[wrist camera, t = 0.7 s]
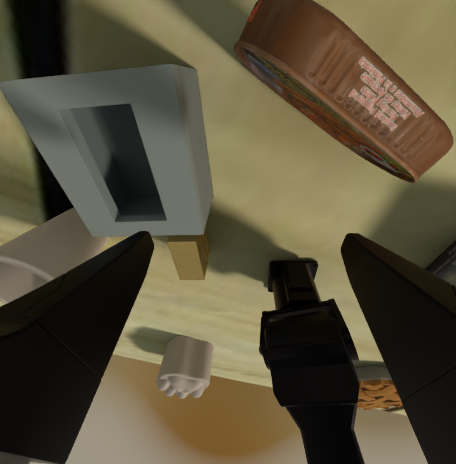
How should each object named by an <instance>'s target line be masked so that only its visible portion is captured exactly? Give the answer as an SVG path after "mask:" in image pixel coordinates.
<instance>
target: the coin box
mask: <svg viewBox="0 0 456 464" xmlns="http://www.w3.org/2000/svg"><path fill="white" fill-rule="evenodd" d="M0 89H1V91H2V92H3V94H4V96H5V97H6V99H7V100H8V102H9V104H10V105H11V107H12V108H13V110H14V112H15V113H16V115H17V116H18V118H19V120H20V121H21V123H22V124H23V126H24V128H25V129H26V131H27V132H28V134H29V136H30V137H31V139H32V140H33V142H34V144H35V145H36V147H37V148H38V150H39V152H40V153H41V155H42V156H43V158H44V160H45V161H46V163H47V164H48V166H49V168H50V169H51V171H52V172H53V174H54V176H55V177H56V179H57V180H58V182H59V184H60V185H61V187H62V188H63V190H64V192H65V193H66V195H67V196H68V198H69V200H70V201H71V203H72V205H73V206H74V208H75V209H76V211H77V213H78V214H79V216H80V217H81V219H82V221H83V222H84V224H85V225H86V227H87V229H88V230H89V232H90V233H91V235H92V237H113V236H132V235H133V234H135V233H137V232H139V231H149V232H150V234H151V236H160V235H204V231H205V227H206V223H207V219H208V215H209V211H210V207H211V203H212V199H213V189H212V182H211V174H210V167H209V159H208V151H207V144H206V136H205V128H204V121H203V113H202V105H201V98H200V90H199V83H198V75H197V70H196V69H192V68H187V67H183V66H179V65H174V64H164V65H155V66H145V67H136V68H126V69H116V70H107V71H97V72H87V73H78V74H68V75H59V76H49V77H39V78H30V79H20V80H11V81H1V82H0Z"/></svg>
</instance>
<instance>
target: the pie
mask: <svg viewBox="0 0 456 464" xmlns="http://www.w3.org/2000/svg"><path fill="white" fill-rule="evenodd" d="M354 369H355V372H356V374H357V377H358V380H359V383H360V390H359V396H358V403H357V408H363V409H364V410H371V409H373V408H385V409H388V408H389V407H391V406H395V407H400V406H403V405H402V401H401V399H400V397H399V395H398V393H397V390H396V388H395V386H394V383H393V381H392V379H391V376H390V374H389V372H388V369H387V367H383V366H364V367H356V368H354Z"/></svg>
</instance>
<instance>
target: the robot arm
mask: <svg viewBox="0 0 456 464" xmlns="http://www.w3.org/2000/svg"><path fill="white" fill-rule="evenodd" d="M153 250H154V243H153V240H152V237H151V234H150V232H149V231H139V232H137V233H135V234H133V235H132V236H130V237H128V238H126V239H125V240H123V241H121V242H119V243H117V244H116V245H114V246H112V247H110V248H109V249H107V250H105V251H103V252H101V253H100V254H98V255H96V256H94V257H92V258H91V259H89V260H87V261H85V262H84V263H82V264H80V265H78V266H76V267H75V268H73V269H71V270H69V271H68V272H66V273H64V274H62V275H60V276H59V277H57V278H55V279H53V280H51V281H50V282H48V283H46V284H44V285H42V286H40V287H38V288H37V289H35V290H33V291H31V292H29V293H27V294H25V295H23V296H21V297H19V298H17V299H15V300H13V301H11V302H9V303H7V304H5V305H3V306H1V307H0V464H29V463H30V462H38V463H47V464H65V462H66V460H67V459H68V456H69V454H70V452H71V450H72V447H73V445H74V443H75V440H76V438H77V436H78V433H79V431H80V429H81V426H82V424H83V422H84V419H85V417H86V414H87V412H88V410H89V408H90V405H91V403H92V401H93V398H94V396H95V394H96V391H97V389H98V387H99V384H100V382H101V378H102V377H103V375H104V372H105V370H106V367H107V365H108V363H109V360H110V358H111V356H112V354H113V351H114V349H115V347H116V344H117V342H118V340H119V337H120V335H121V333H122V330H123V328H124V326H125V323H126V321H127V319H128V316H129V314H130V312H131V309H132V307H133V305H134V302H135V300H136V298H137V295H138V293H139V291H140V288H141V286H142V284H143V281H144V279H145V276H146V274H147V270H148V267H149V264H150V260H151V257H152V254H153ZM341 255H342V258H343V261H344V265H345V268H346V272H347V275H348V278H349V281H350V284H351V286H352V289H353V291H354V293H355V296H356V298H357V300H358V303H359V305H360V307H361V309H362V312H363V314H364V316H365V319H366V321H367V323H368V326H369V328H370V330H371V333H372V335H373V337H374V339H375V342H376V344H377V346H378V349H379V351H380V353H381V356H382V358H383V360H384V363H385V365H386V367H387V369H388V372H389V374H390V376H391V379H392V381H393V383H394V386H395V388H396V390H397V393H398V395H399V397H400V399H401V401H402V405H403V407H404V409H405V411H406V414H407V416H408V418H409V421H410V423H411V425H412V427H413V430H414V432H415V435H416V437H417V439H418V441H419V444H420V446H421V448H422V451H423V453H424V455H425V457H426V460H427V462H428V464H456V286H454V285H451V284H450V283H449V282H447V281H445V280H443V279H441V278H439V277H438V276H436V275H434V274H432V273H430V272H428V271H426V270H425V269H423V268H421V267H419V266H417V265H415V264H413V263H412V262H410V261H408V260H406V259H404V258H402V257H401V256H399V255H397V254H395V253H393V252H391V251H389V250H388V249H386V248H384V247H382V246H380V245H378V244H377V243H375V242H373V241H371V240H369V239H367V238H365V237H364V236H362V235H360V234H358V233H348V234H347V235H346V236H345V239H344V241H343V244H342V246H341ZM317 268H318V263H317V261H272V262H270V264H269V278H268V291H269V292H273V293H274V300H275V307H276V310H273V311H263V312H262V318H261V331H260V346H259V352H260V354H261V355H262V356H263V358H264V361H265V364H266V366H267V368H268V369H270V371H271V376H272V384H273V392H274V395H275V397H276V398H277V400H278V402H279V404H280V405H281V406H282V407H286V409H287V410H288V412H289V413H290V415H291V416H292V418H293V419H294V421H295V422H296V424H297V426H298V427H299V429H300V431H301V434H302V439H303V444H304V448H305V453H306V458H307V463H308V464H365V463H364V460H363V457H362V453H361V450H360V447H359V444H358V441H357V438H356V435H355V432H354V424H355V417H356V410H357V403H358V396H359V390H360V383H359V380H358V377H357V374H356V372H355V369H354V366H353V363H352V362H355V361H359V358H358V355H357V351H356V348H355V346H354V343H353V340H352V338H351V335H350V333H349V330H348V328H347V326H346V323H345V321H344V319H343V317H342V315H341V313H340V311H339V309H338V307H337V304H336V302H335V300H334V299H329V300H327V301H322V302H321V299H320V297H319V294H318V291H317V288H316V285H315V283H314V278H315V275H316V272H317Z"/></svg>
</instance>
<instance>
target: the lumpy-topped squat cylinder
mask: <svg viewBox="0 0 456 464" xmlns="http://www.w3.org/2000/svg"><path fill="white" fill-rule="evenodd" d="M212 356H213V345H212V344H211V343H209V342H206V341H202V340H197V339H194V338H191V337H188V336H176V337H173V338H172V339H171V340H170V341H169V342H168V344H167V346H166V350H165V353H164V357H163V360H162V364H161V368H160V371H159V374H158V377H157V387H158V389H159V390H161V391H163V390H165V393H166V395H167V396H172V395H173V394H174V393H177V396H178V397H179V398H180V399H183V398H185V397H186V396H187V395H188V394H191V393H192V396H193V397H195V398H198V397H200V396H201V395H202V393H203V390H204V389H205V388H206V387H207V386H209V383H210V374H211V365H212Z"/></svg>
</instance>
